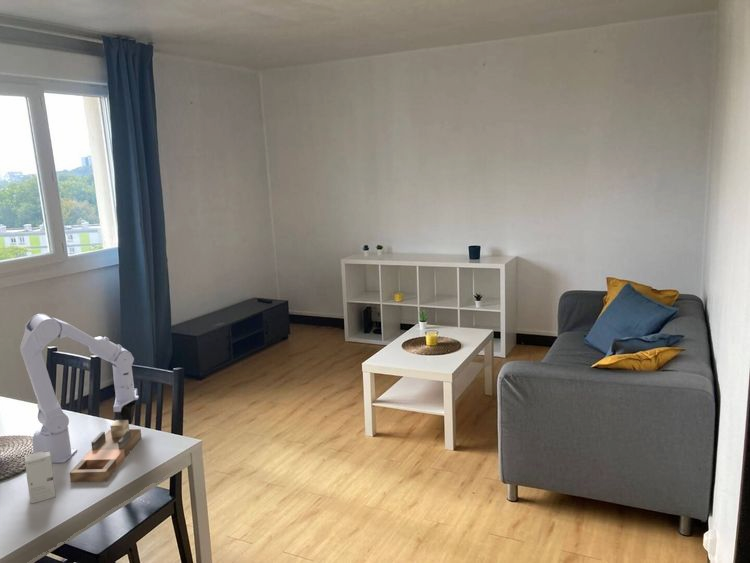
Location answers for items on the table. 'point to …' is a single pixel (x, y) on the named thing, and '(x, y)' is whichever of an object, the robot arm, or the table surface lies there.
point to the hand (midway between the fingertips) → (128, 423)
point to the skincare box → (39, 476)
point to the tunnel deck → (104, 456)
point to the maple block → (119, 428)
